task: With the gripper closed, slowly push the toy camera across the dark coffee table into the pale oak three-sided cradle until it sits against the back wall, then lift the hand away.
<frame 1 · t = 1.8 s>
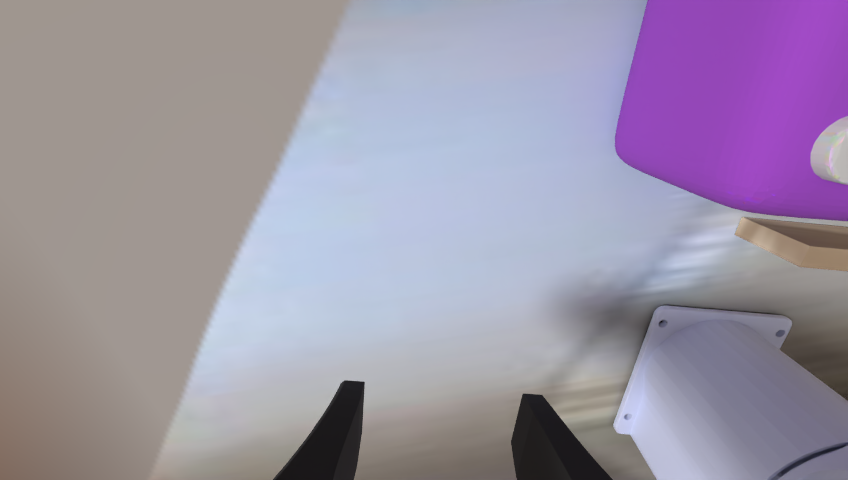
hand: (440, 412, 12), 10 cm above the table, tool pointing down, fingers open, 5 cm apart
toy camera: (726, 29, 18), on the table
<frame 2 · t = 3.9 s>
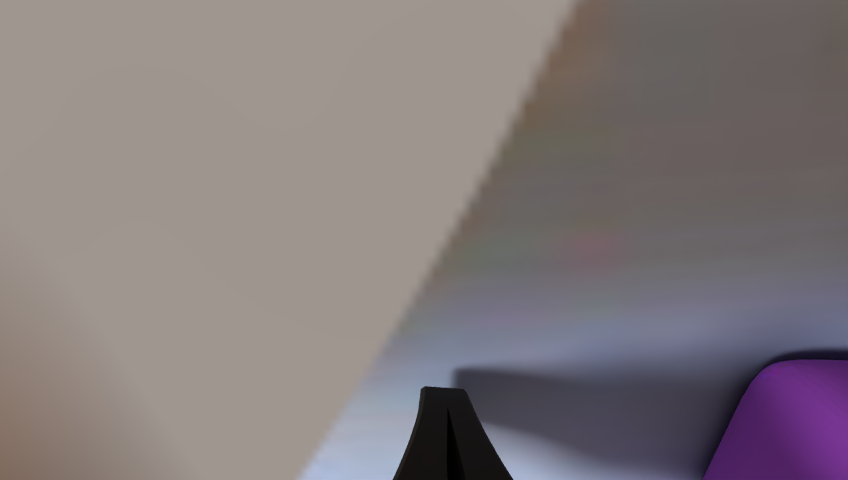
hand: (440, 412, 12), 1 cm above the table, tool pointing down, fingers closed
toy camera: (828, 412, 14), on the table
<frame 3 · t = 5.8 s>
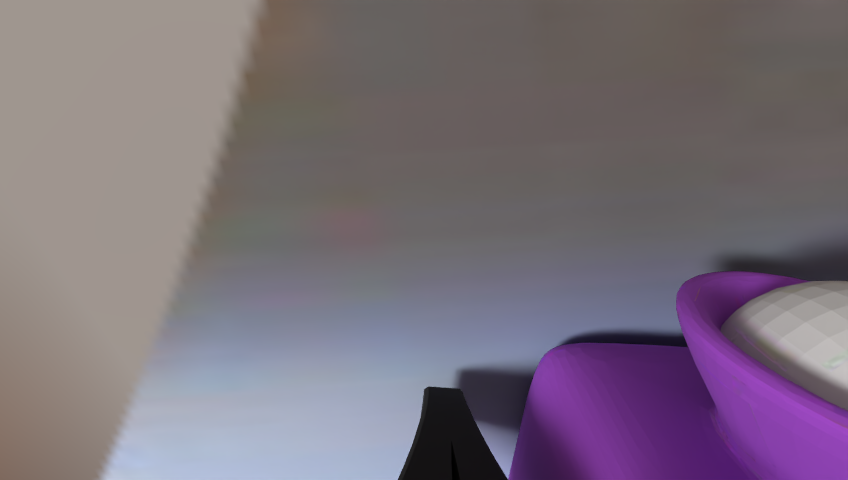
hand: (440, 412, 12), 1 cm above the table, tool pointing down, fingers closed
toy camera: (640, 399, 14), on the table, touching gripper
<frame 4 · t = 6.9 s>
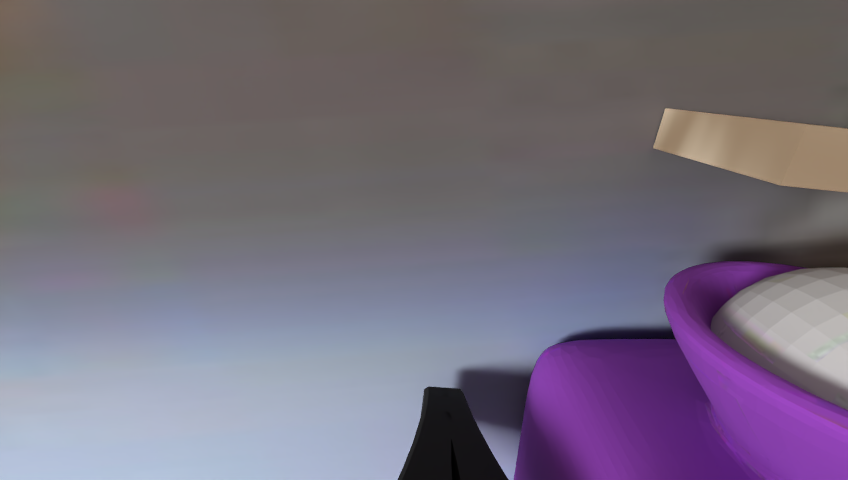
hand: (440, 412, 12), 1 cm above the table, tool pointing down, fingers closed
oak cradle: (757, 414, 14), on the table
toy camera: (642, 393, 14), on the table, touching gripper
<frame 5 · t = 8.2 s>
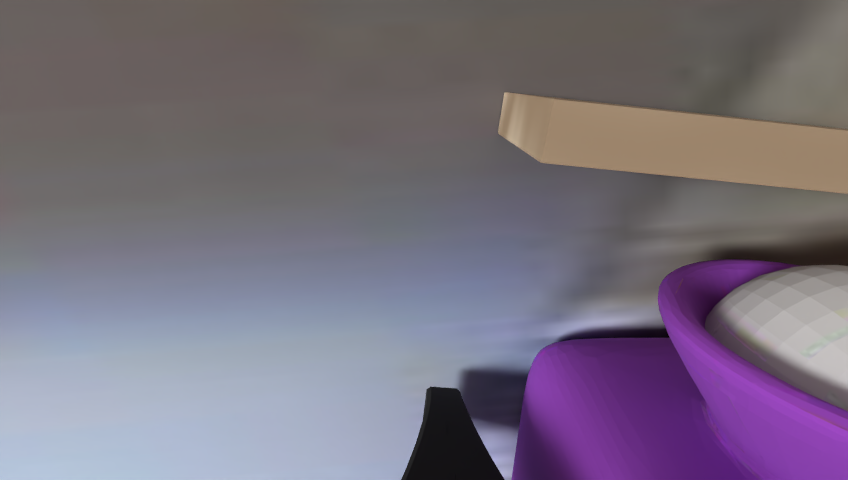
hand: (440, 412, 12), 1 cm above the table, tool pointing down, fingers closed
oak cradle: (643, 405, 14), on the table
toy camera: (640, 392, 14), on the table, touching gripper, oak cradle
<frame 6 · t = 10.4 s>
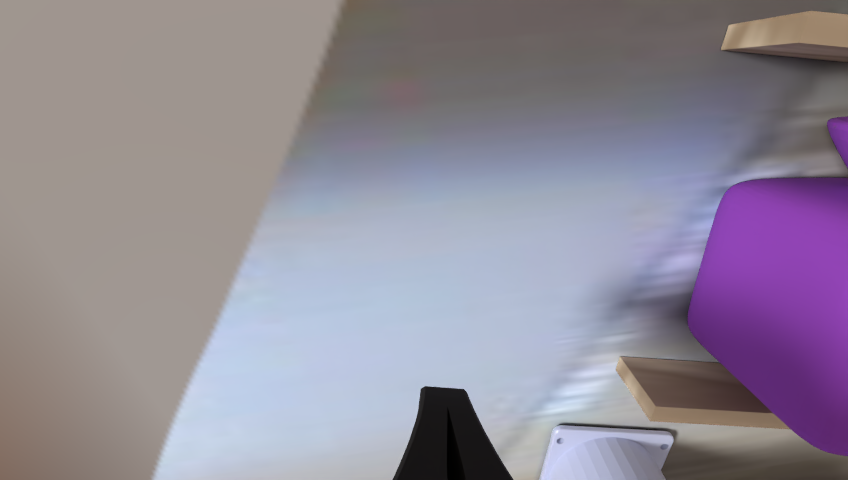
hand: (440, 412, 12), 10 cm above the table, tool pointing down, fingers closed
oak cradle: (780, 235, 21), on the table
toy camera: (778, 227, 22), on the table, touching oak cradle
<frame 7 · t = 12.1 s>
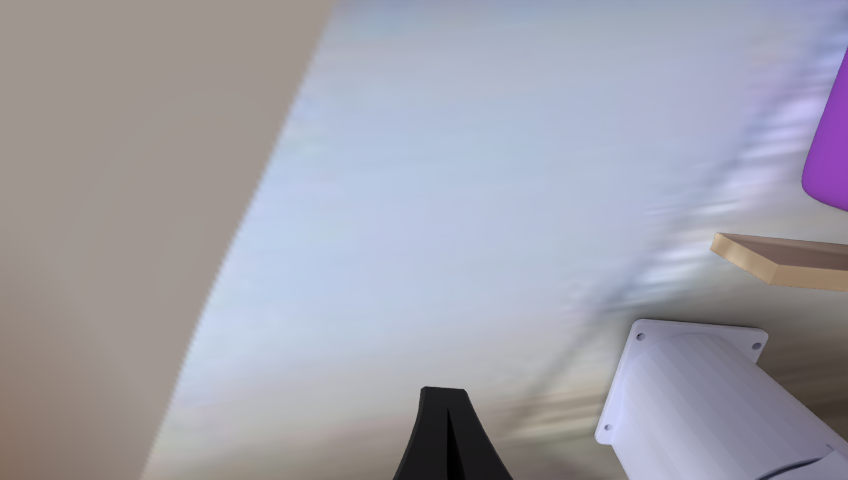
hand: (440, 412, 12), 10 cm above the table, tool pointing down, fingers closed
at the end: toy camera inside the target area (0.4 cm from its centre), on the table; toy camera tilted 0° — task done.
